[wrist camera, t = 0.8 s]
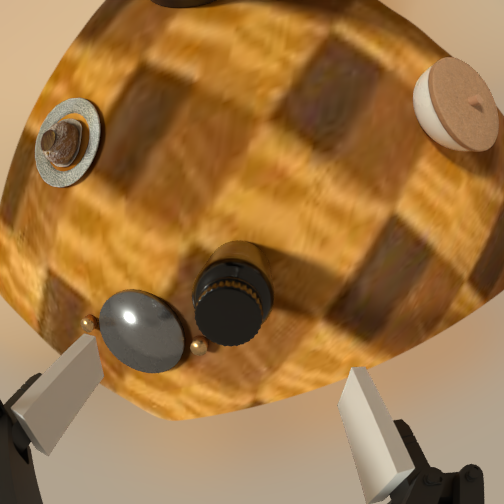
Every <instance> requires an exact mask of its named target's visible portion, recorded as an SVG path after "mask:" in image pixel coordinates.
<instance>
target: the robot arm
mask: <svg viewBox="0 0 504 504" xmlns="http://www.w3.org/2000/svg"><path fill="white" fill-rule="evenodd" d="M151 1H152V2H153V3H155V4H158V5H161V6H165V7H191V6H197V5H202V4H206V3H210V2H213V1H216V0H151ZM103 377H104V374H103V370H102V366H101V362H100V357H99V353H98V348H97V343H96V338H95V336H91V335H88V334H83V335H82V336H81V337H80V338H79V339H78V340H77V341H76V342H75V343H74V344H73V345H71V346H70V347H69V348H68V349H67V350H66V351H65V352H64V353H63V354H62V355H61V356H60V357H59V358H58V359H57V360H56V361H55V362H54V363H53V364H52V365H51V366H50V367H49V368H48V369H47V370H46V371H45V372H44V373H43V374H41V373H38V374H36V375H34V376H32V377H30V378H29V379H28V380H27V381H26V383H25V384H23V385H22V386H21V389H19V390H18V391H17V392H16V393H15V394H14V395H13V396H12V397H11V398H10V399H9V400H8V401H7V402H6V403H5V404H4V405H3V403H2V402H1V400H0V504H43V502H42V499H41V495H40V491H39V488H38V484H37V479H36V475H35V471H34V465H33V460H32V454H31V449H30V447H29V444H30V442H32V443H33V445H34V446H35V448H36V449H37V450H39V451H40V452H42V453H44V454H45V455H47V456H49V455H50V453H51V452H52V450H53V449H54V447H55V446H56V444H57V442H58V441H59V440H60V438H61V437H62V435H63V434H64V432H65V431H66V429H67V428H68V426H69V425H70V423H71V422H72V421H73V419H74V417H75V416H76V415H77V413H78V412H79V410H80V409H81V408H82V406H83V405H84V403H85V402H86V400H87V399H88V398H89V396H90V395H91V393H92V392H93V391H94V389H95V388H96V387H97V385H98V384H99V383H100V381H101V380H102V378H103ZM337 406H338V409H339V412H340V415H341V418H342V421H343V425H344V428H345V431H346V434H347V438H348V441H349V444H350V448H351V451H352V454H353V458H354V461H355V465H356V468H357V471H358V475H359V478H360V482H361V485H362V489H363V493H364V496H365V500H366V504H371V503H376V502H380V501H383V500H384V499H385V498H387V497H388V496H389V495H390V498H391V501H390V502H389V503H388V504H484V480H483V473H482V470H481V469H480V467H478V466H477V465H473V464H470V465H466V466H465V467H463V468H462V469H461V470H460V471H459V472H453V473H443V472H441V470H439V469H437V468H435V467H430V465H429V464H428V462H427V460H426V458H425V456H424V454H423V452H422V450H421V448H420V446H419V444H418V443H417V440H416V438H415V436H413V433H412V431H411V429H410V427H409V425H407V424H406V423H405V422H404V421H403V420H402V419H400V420H394V421H393V420H392V418H391V416H390V414H389V412H388V410H387V408H386V406H385V404H384V402H383V400H382V398H381V396H380V394H379V392H378V390H377V389H376V386H375V385H374V383H373V381H372V379H371V377H370V375H369V373H368V371H367V369H366V367H351V370H350V373H349V376H348V379H347V382H346V384H345V387H344V390H343V392H342V395H341V398H340V400H339V403H338V405H337Z"/></svg>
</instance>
